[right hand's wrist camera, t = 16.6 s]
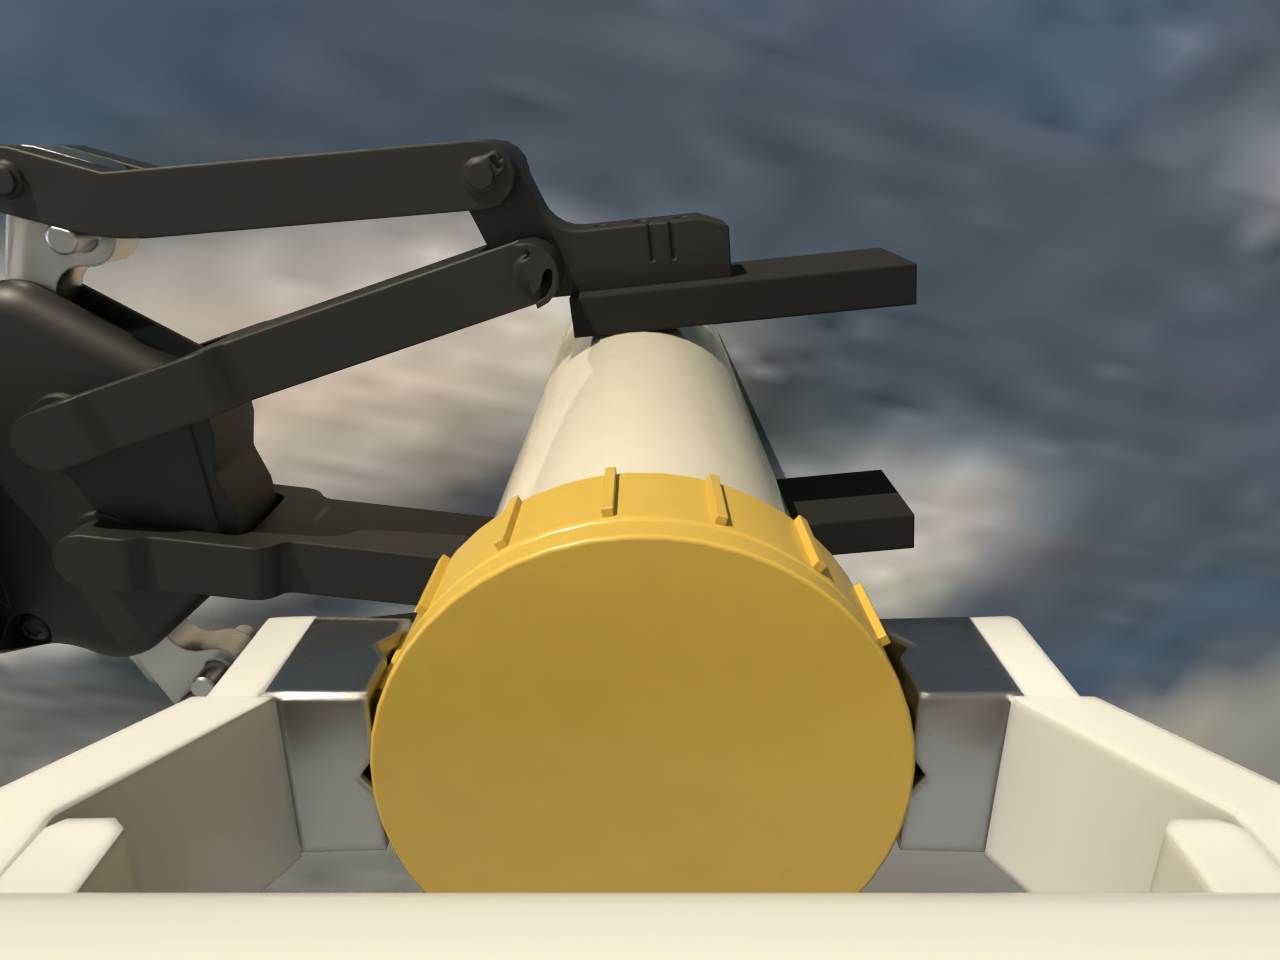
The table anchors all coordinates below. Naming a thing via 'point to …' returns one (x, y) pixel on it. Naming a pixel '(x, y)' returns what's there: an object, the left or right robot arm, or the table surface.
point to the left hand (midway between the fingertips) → (894, 395)
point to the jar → (643, 415)
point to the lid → (642, 703)
